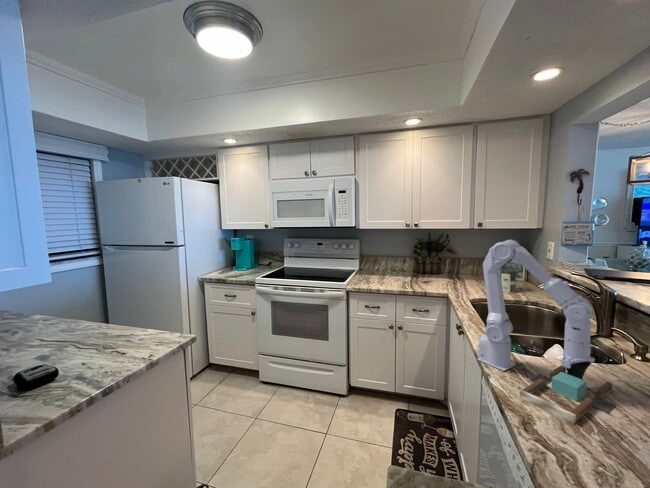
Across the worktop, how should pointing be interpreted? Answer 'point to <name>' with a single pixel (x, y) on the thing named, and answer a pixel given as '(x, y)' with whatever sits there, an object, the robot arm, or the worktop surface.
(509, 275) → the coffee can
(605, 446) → the worktop surface
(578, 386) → the teal block
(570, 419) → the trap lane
